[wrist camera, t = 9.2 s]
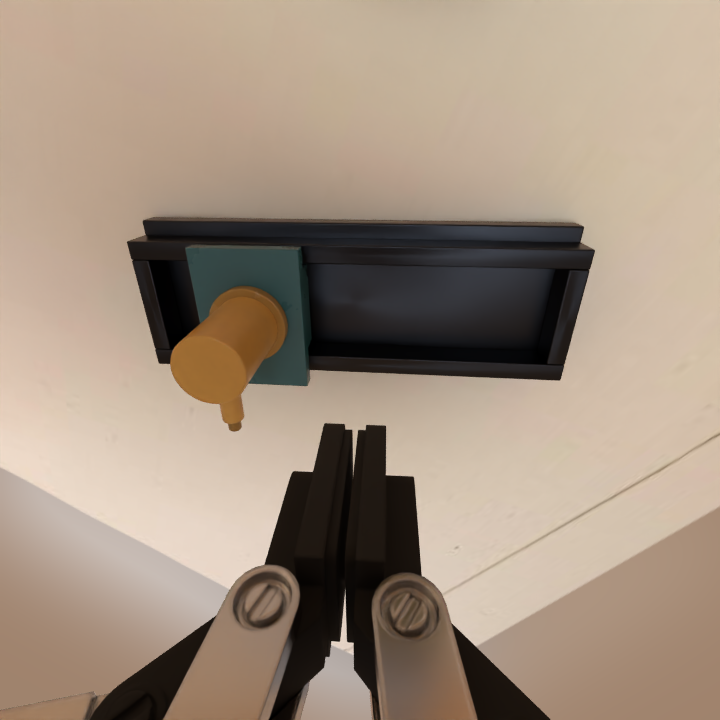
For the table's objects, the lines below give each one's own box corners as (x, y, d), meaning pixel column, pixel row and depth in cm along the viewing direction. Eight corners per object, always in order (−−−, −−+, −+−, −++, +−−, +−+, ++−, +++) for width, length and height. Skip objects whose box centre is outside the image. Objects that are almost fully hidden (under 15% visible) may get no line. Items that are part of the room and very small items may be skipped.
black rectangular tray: (184, 353, 28) (161, 374, 25) (153, 216, 24) (122, 225, 21) (541, 367, 26) (557, 392, 23) (576, 222, 22) (600, 232, 19)
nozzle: (232, 359, 26) (164, 445, 18) (211, 235, 22) (116, 279, 15) (317, 362, 26) (284, 452, 18) (311, 236, 22) (264, 282, 14)
